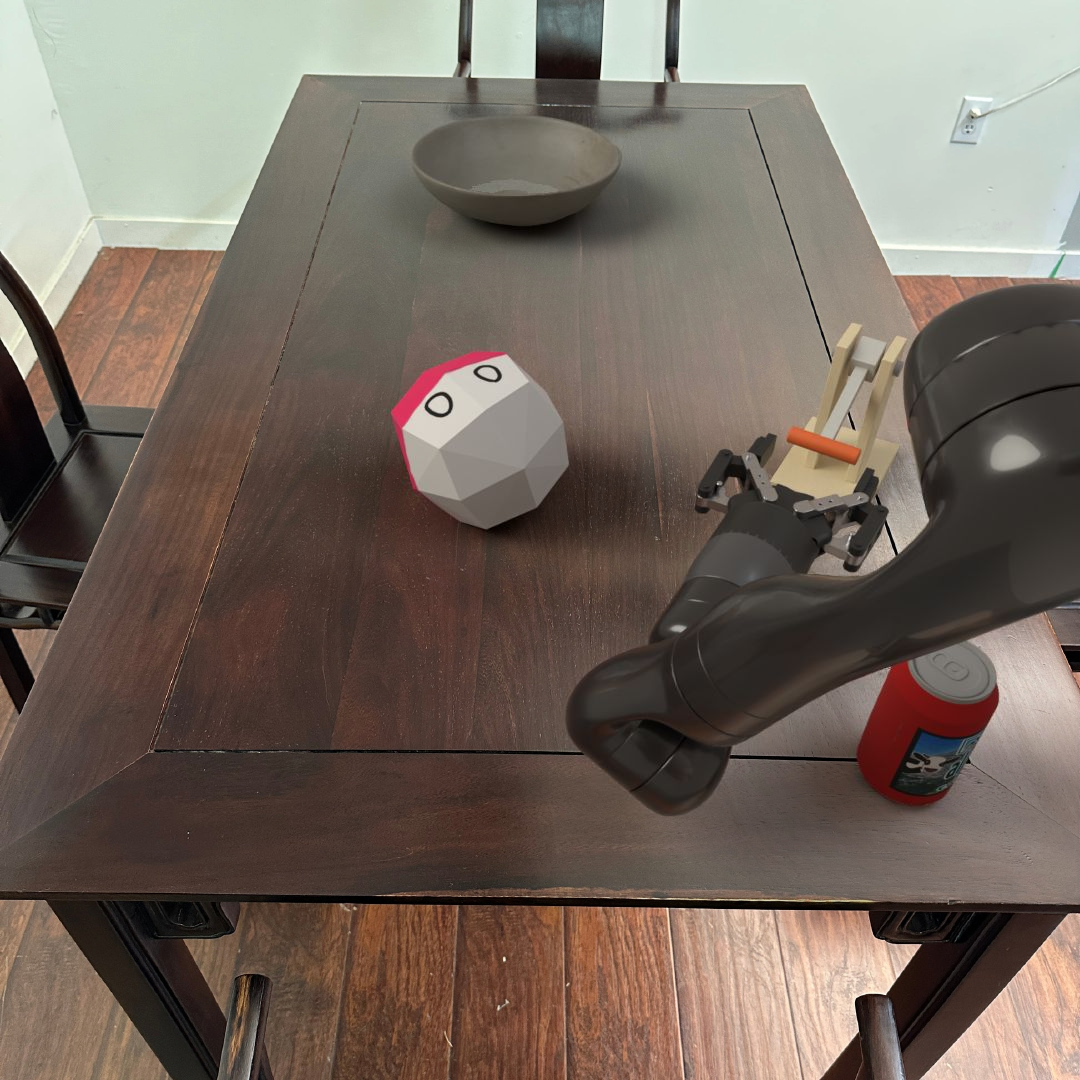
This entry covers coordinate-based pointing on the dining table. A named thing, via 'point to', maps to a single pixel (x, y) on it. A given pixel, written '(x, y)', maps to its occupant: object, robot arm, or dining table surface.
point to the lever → (844, 405)
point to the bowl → (515, 166)
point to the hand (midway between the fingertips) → (818, 458)
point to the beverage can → (928, 723)
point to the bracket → (845, 429)
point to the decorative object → (481, 438)
